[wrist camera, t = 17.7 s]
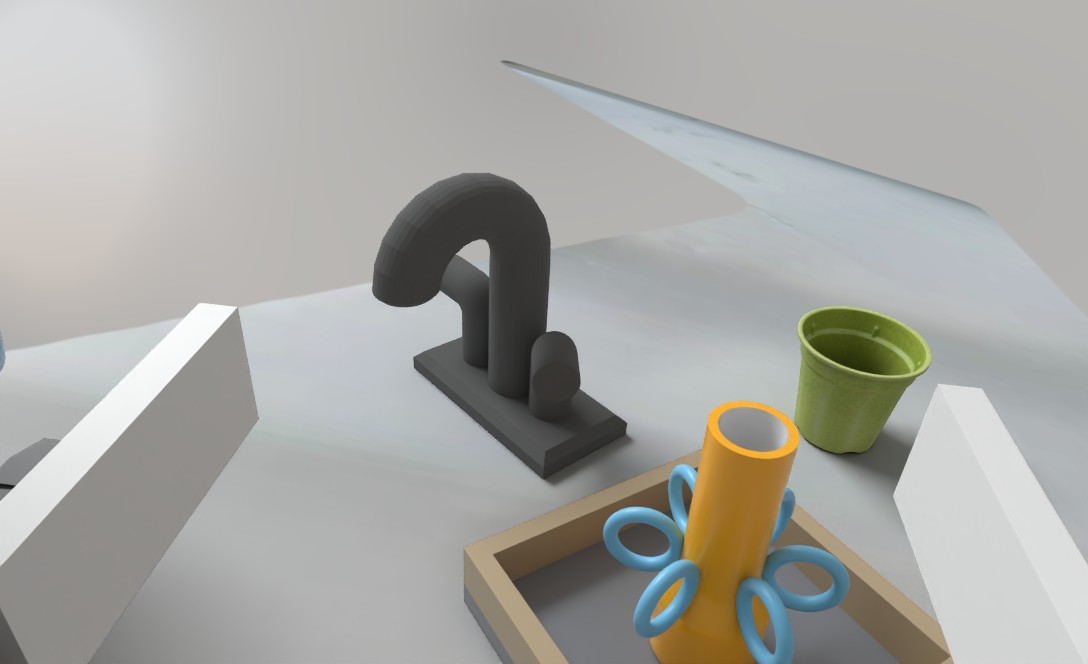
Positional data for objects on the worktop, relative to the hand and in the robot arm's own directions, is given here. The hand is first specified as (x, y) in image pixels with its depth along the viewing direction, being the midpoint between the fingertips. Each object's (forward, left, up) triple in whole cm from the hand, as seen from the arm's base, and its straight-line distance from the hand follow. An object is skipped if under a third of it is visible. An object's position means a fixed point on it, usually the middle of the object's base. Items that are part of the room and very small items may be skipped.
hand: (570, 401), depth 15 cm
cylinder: (-8, +16, -28) cm, 33 cm away
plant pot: (-18, +39, -29) cm, 52 cm away
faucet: (-33, +15, -29) cm, 47 cm away
